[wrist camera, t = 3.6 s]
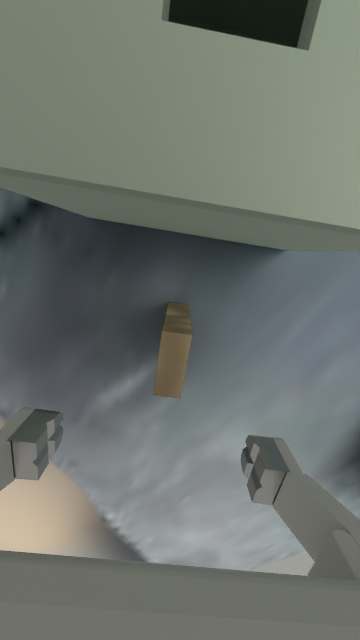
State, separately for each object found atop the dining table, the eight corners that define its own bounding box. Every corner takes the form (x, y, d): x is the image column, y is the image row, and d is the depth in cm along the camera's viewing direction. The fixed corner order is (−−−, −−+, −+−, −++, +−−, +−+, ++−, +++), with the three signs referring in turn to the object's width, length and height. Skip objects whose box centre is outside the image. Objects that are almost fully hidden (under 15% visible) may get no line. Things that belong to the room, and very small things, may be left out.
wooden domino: (188, 304, 21) (192, 335, 14) (180, 349, 23) (180, 398, 15) (168, 301, 21) (161, 330, 14) (162, 346, 23) (153, 395, 15)
